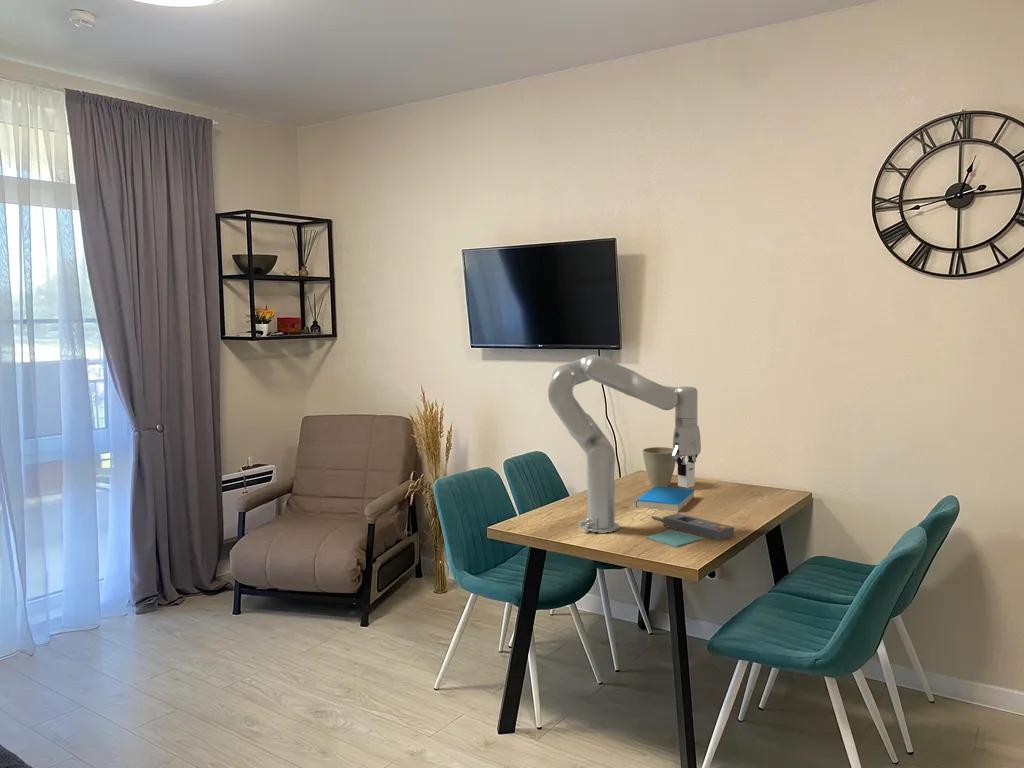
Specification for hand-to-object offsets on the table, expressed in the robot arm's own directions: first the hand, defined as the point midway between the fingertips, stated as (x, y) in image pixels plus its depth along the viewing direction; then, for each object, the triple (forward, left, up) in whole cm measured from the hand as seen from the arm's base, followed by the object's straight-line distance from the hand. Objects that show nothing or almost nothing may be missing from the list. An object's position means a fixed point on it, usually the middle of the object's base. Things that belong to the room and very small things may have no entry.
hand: (686, 473), depth 263 cm
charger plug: (0, 0, -4) cm, 4 cm away
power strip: (0, -1, -19) cm, 19 cm away
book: (+22, +28, -20) cm, 40 cm away
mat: (-13, -6, -19) cm, 24 cm away
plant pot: (+42, +49, -19) cm, 67 cm away
